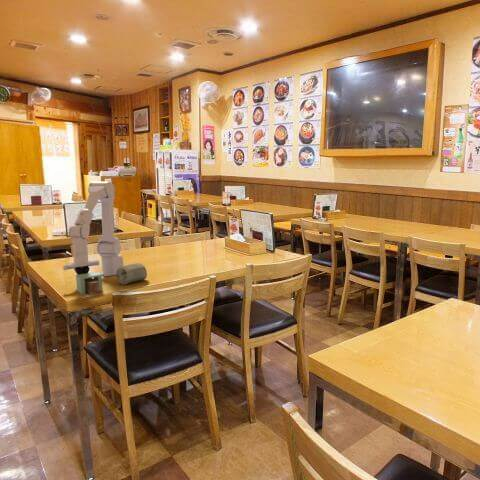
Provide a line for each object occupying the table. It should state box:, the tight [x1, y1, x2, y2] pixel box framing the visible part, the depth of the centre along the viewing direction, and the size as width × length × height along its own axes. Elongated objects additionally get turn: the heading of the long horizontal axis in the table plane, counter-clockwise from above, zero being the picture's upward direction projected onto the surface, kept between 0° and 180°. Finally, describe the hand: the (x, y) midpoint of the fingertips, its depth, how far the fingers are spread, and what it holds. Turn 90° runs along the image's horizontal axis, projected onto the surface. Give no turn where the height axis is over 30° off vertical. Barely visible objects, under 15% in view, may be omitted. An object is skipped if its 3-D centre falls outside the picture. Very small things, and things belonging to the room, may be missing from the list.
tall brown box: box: [84, 277, 100, 296], centre depth 167 cm, size 3×13×5 cm, turn 38°
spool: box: [116, 262, 148, 286], centre depth 179 cm, size 14×10×10 cm
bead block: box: [75, 271, 103, 295], centre depth 166 cm, size 8×6×7 cm
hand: (82, 283), depth 174 cm, fingers closed
